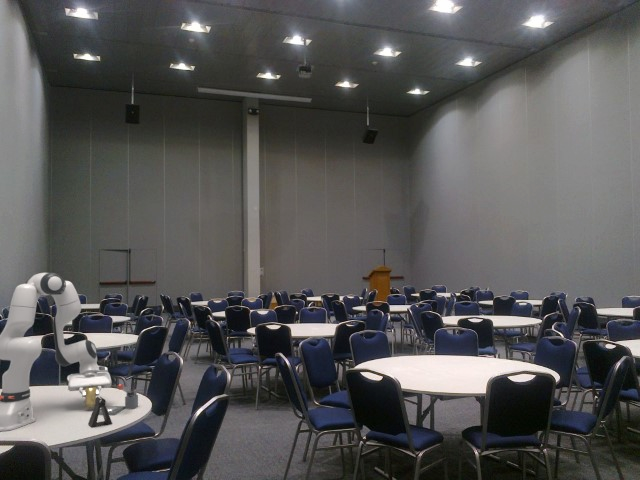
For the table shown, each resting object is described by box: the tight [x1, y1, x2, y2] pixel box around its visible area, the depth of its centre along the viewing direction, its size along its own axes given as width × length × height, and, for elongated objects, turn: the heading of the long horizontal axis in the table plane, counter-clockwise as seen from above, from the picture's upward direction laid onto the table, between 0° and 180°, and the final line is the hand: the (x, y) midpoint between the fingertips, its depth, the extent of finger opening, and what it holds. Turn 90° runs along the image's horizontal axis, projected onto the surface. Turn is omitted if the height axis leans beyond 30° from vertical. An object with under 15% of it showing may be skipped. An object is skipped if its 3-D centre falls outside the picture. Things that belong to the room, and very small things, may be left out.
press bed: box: [98, 405, 126, 416], centre depth 275 cm, size 12×10×1 cm
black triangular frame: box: [88, 396, 113, 429], centre depth 254 cm, size 9×6×12 cm, turn 125°
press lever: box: [117, 383, 134, 395], centre depth 276 cm, size 17×3×3 cm, turn 176°
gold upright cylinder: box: [84, 384, 97, 408], centre depth 279 cm, size 5×5×10 cm
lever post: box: [124, 388, 139, 410], centre depth 283 cm, size 4×5×9 cm
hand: (90, 395), depth 278 cm, fingers closed on gold upright cylinder, 5 cm apart
